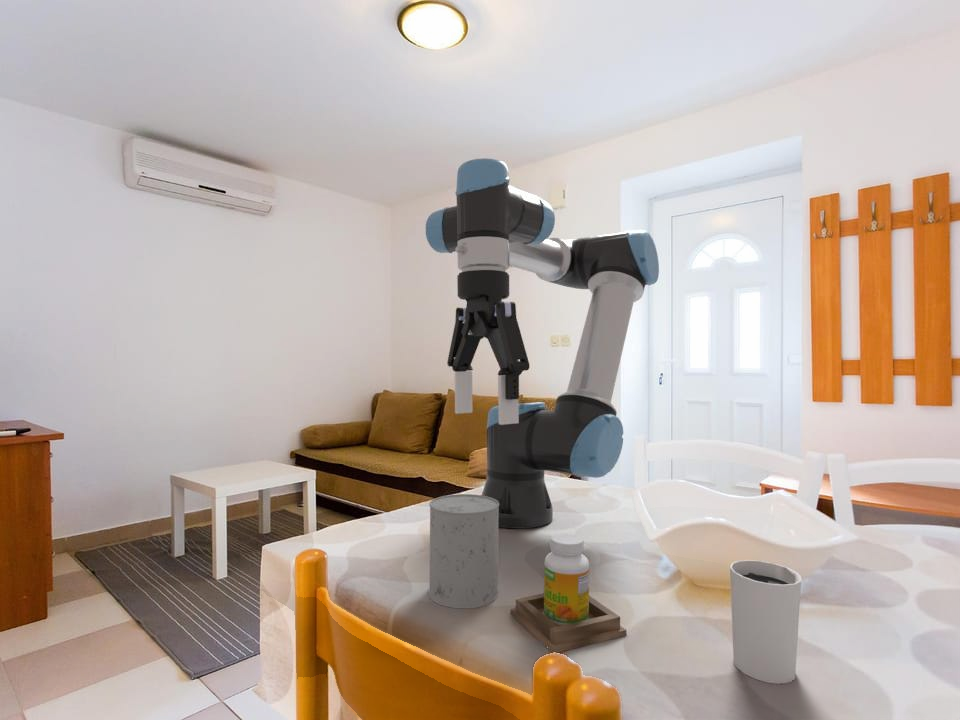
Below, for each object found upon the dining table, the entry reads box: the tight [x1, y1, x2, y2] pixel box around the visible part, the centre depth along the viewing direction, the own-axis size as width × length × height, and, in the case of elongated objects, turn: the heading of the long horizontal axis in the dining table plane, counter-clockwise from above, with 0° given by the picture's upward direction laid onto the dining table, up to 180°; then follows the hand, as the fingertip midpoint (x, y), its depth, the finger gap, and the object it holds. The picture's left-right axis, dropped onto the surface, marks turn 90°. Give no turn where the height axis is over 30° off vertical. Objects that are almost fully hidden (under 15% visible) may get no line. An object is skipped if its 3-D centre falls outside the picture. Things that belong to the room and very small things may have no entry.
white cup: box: [729, 559, 802, 685], centre depth 56 cm, size 7×7×10 cm
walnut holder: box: [509, 592, 627, 654], centre depth 65 cm, size 10×10×2 cm
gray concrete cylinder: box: [428, 493, 499, 610], centre depth 73 cm, size 10×10×12 cm
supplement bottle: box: [543, 532, 590, 626], centre depth 65 cm, size 5×5×10 cm
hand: (484, 418), depth 78 cm, fingers open, 13 cm apart
